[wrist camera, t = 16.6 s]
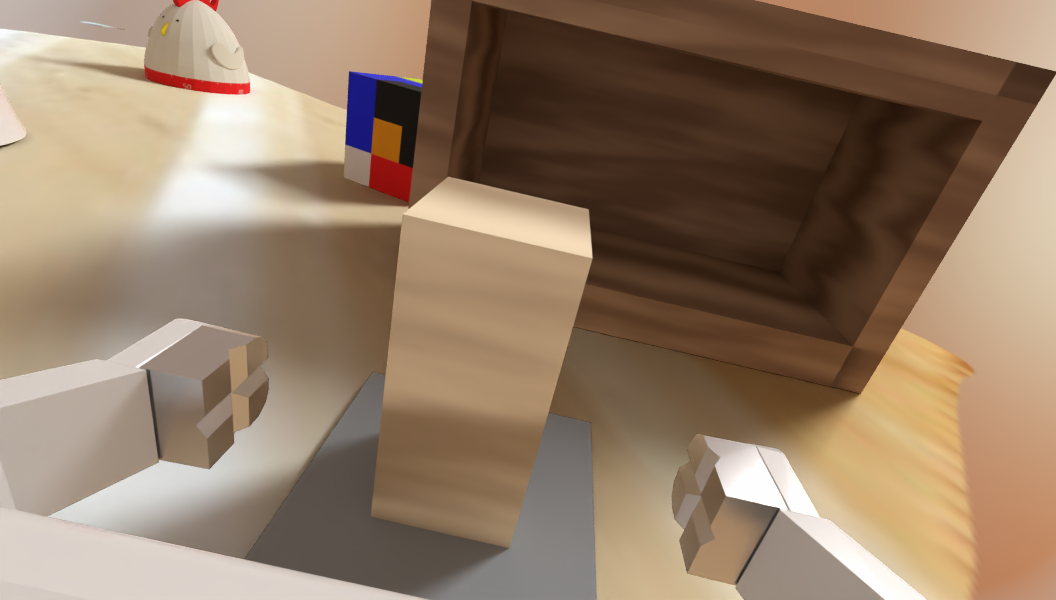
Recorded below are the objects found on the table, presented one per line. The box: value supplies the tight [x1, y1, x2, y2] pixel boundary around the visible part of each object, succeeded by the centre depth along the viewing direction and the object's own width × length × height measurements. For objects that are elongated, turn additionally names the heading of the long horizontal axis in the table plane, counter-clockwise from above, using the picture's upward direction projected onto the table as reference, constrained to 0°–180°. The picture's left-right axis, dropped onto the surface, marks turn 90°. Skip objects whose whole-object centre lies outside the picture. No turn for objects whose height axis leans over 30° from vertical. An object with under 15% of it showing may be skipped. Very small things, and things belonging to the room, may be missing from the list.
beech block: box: [371, 177, 593, 548], centre depth 16 cm, size 4×4×10 cm
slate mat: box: [244, 372, 597, 600], centre depth 18 cm, size 10×10×1 cm
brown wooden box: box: [409, 0, 1056, 394], centre depth 34 cm, size 14×30×19 cm, turn 85°
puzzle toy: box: [344, 72, 423, 202], centre depth 51 cm, size 10×10×10 cm
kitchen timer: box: [144, 0, 250, 94], centre depth 76 cm, size 14×14×15 cm
